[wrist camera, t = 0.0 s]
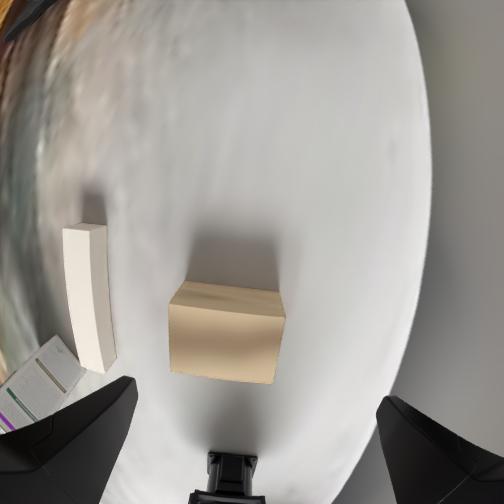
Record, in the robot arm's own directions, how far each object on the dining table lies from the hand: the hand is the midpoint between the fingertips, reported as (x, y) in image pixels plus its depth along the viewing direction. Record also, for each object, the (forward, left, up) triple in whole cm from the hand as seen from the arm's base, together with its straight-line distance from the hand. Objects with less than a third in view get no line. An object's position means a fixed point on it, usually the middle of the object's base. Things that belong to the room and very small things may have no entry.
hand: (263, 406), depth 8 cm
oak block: (-4, +2, -15) cm, 16 cm away
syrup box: (-14, +22, -15) cm, 30 cm away
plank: (-4, +15, -15) cm, 21 cm away
